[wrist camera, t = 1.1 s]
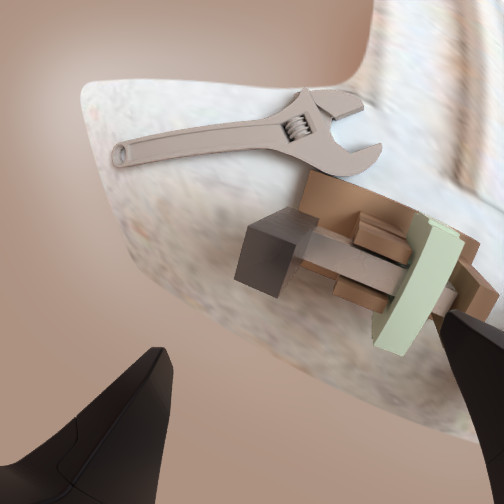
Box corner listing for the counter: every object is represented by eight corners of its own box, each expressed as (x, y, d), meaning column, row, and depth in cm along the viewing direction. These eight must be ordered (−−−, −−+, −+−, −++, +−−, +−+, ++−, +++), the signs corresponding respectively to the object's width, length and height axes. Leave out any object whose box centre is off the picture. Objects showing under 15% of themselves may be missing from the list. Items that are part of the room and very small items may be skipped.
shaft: (452, 275, 13) (487, 325, 8) (435, 309, 14) (457, 369, 9) (287, 206, 16) (248, 225, 11) (276, 243, 17) (233, 279, 12)
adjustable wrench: (121, 168, 27) (109, 169, 25) (124, 112, 25) (112, 111, 24) (375, 180, 18) (376, 181, 17) (378, 97, 16) (379, 90, 15)
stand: (474, 239, 16) (522, 276, 9) (437, 316, 19) (459, 378, 12) (313, 169, 20) (285, 168, 13) (286, 254, 22) (247, 295, 15)
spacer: (442, 221, 14) (466, 238, 10) (395, 319, 17) (401, 359, 13) (416, 209, 15) (434, 222, 11) (371, 309, 18) (371, 348, 14)
